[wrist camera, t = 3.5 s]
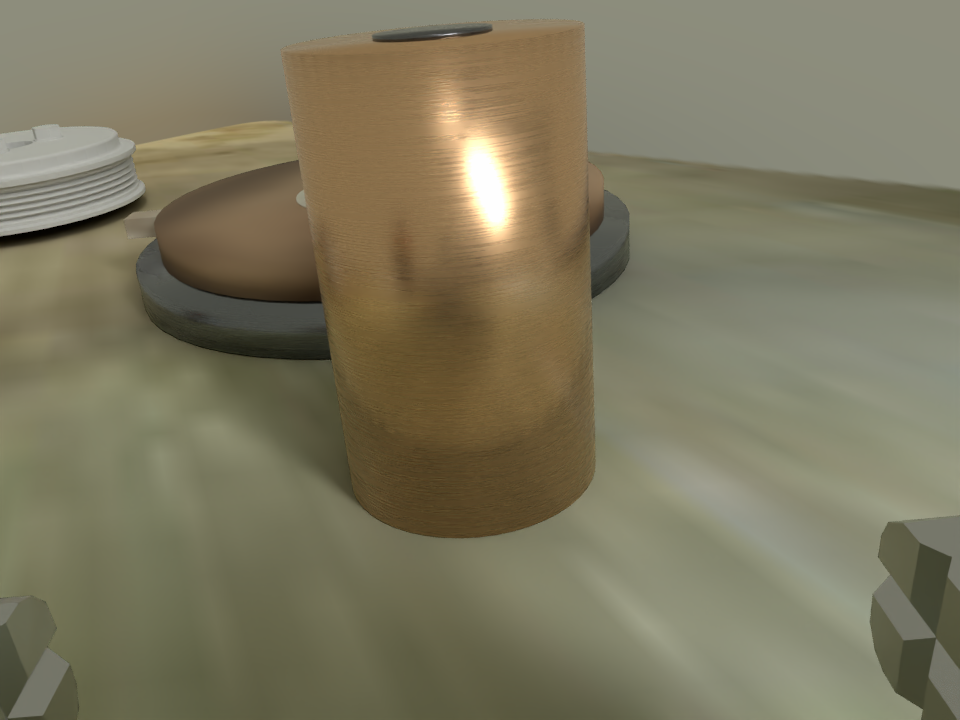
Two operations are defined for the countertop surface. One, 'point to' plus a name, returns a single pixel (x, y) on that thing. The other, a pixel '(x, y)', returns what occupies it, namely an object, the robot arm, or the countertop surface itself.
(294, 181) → the turntable
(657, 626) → the countertop surface
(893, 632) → the robot arm
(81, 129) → the lid
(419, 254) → the canister
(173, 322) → the turntable base
